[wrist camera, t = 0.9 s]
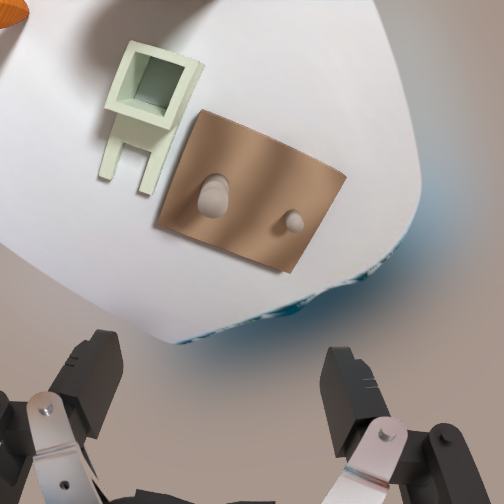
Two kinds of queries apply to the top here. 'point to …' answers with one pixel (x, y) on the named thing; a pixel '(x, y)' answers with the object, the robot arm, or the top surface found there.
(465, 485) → the robot arm
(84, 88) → the top surface
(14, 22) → the carrot
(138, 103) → the hollow square block
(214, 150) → the post base
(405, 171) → the top surface
